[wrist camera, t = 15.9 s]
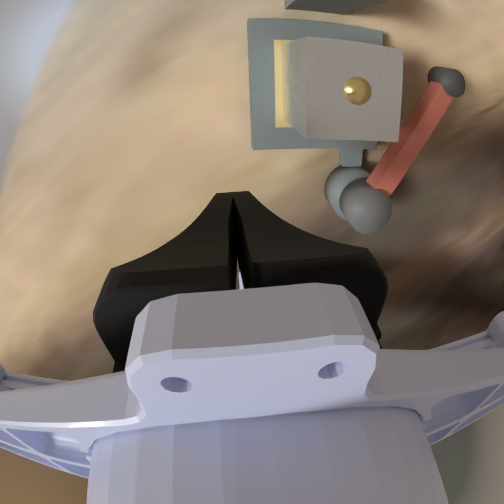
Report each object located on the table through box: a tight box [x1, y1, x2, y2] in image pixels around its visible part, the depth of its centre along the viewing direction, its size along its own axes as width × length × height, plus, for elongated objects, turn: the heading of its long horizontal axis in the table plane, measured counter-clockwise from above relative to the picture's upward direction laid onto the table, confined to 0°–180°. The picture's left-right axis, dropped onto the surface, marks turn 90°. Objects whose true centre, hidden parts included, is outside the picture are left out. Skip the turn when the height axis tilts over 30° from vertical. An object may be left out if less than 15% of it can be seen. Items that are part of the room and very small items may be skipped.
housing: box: [281, 36, 403, 142], centre depth 14 cm, size 5×5×6 cm
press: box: [247, 0, 386, 221], centre depth 15 cm, size 18×10×9 cm, turn 2°
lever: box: [339, 67, 465, 234], centre depth 17 cm, size 3×14×2 cm, turn 152°
